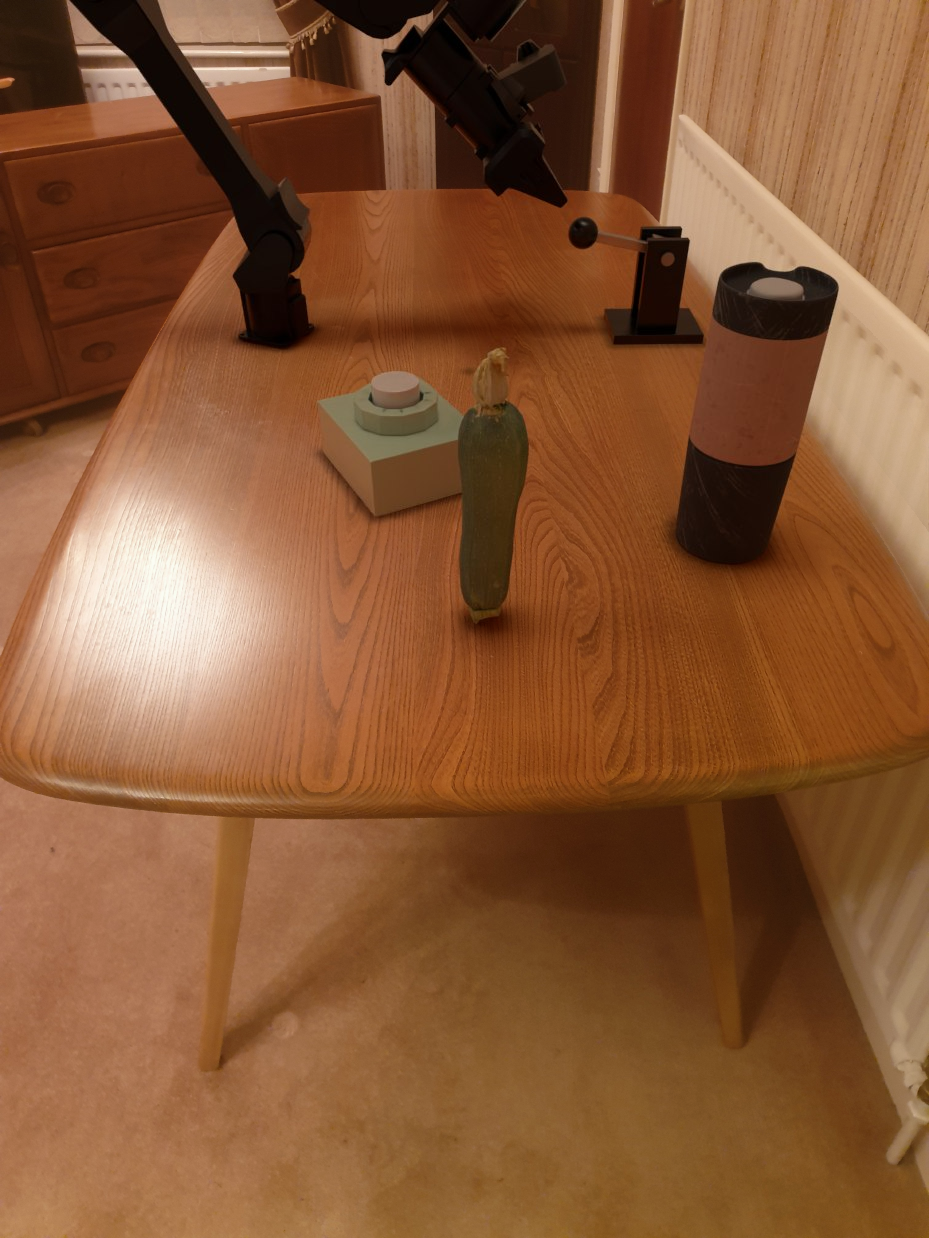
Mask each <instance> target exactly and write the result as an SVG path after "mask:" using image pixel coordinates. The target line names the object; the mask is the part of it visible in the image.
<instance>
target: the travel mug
mask: <svg viewBox="0 0 929 1238" xmlns="http://www.w3.org/2000/svg"><path fill="white" fill-rule="evenodd" d="M839 287H840V285H839V283H838V281H837V280H836V279H835V278H834V277H833V276H832V275H830V274H828V273H826V272H825V271H822V270H819V269H817V268H815V267H814V268H813V267H810V266H806V265H799V266H797V267H795V268H794V269H792V270H787V271H786V270H785V271H784V270H783V271H780V270H773V269H770V268H767V267H766V266H765V265H764V264H763V263H762V262H760V261H748V262H742V263H738V264H734V265H730V266H729V267H726V268H725V269H723V271H721V273H720V274H719V277H718V280H717V285H716V291H715V295H714V301H713V306H712V310H711V311H712V312H711V317H710V322H709V327H708V333H707V337H706V342H705V347H704V352H703V358H702V364H701V369H700V373H699V380H698V384H697V388H696V389H697V390H696V395H695V400H694V406H693V411H692V417H691V421H690V425H689V433H688V439H687V447H686V453H685V459H684V465H683V473H682V480H681V487H680V495H679V500H678V501H679V503H678V507H677V508H678V509H677V516H676V524H675V536H676V537H675V538H676V539H677V541H678V543H679V544H680V545H681V547H682V548H683V549H684V550H686V551H687V552H688V553H691V554H692V555H694V556H696V557H698V558H701V559H702V560H706V561H709V562H714V563H719V564H742V563H747V562H750V561H753V560H756V559H757V558H759V557H760V556H762V555H763V553H764V552H765V551H766V550H767V547H768V545H769V542H770V539H771V536H772V532H773V530H774V526H775V524H776V519H777V517H778V513H779V511H780V507H781V504H782V501H783V497H784V494H785V491H786V487H787V485H788V482H789V478H790V475H791V472H792V468H793V466H794V463H795V458H796V456H797V453H798V452H797V451H798V449H799V445H800V442H801V438H802V434H803V430H804V427H805V422H806V418H807V415H808V411H809V406H810V403H811V399H812V395H813V391H814V387H815V384H816V381H817V377H818V373H819V370H820V369H819V368H820V364H821V361H822V356H823V353H824V349H825V345H826V342H827V339H828V334H829V330H830V326H831V323H832V319H833V315H834V311H835V307H836V303H837V299H838V296H839V289H840V288H839Z"/></svg>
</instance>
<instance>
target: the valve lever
mask: <svg viewBox="0 0 929 1238" xmlns="http://www.w3.org/2000/svg"><path fill="white" fill-rule="evenodd" d="M567 238H568V239H569V240H568V241H569V243H570V244H571V245H572V246H573V248H575V249H578V250H587V249H589V248H591V247H592V246H594V245H595V243H597V244H602V245H606V246H611V247H615V248H619V249H623V250H629V251H633V252H637V253H638V252H643V253H645V250H646V243H647V241H645V240H641V239H639V238H636V237H632V236H626V235H622V234H617V233H613V232H609V231H604V230H599V227H598V225H597V223H596V222H595V221H594V220H593V218H591V217H588V216H580V217H578V218H576V219H574V220H573V221H572V223H571V224H570V226H569V227H568V232H567ZM651 238H670V237H666V236H661V235H657V234H652V236H651Z"/></svg>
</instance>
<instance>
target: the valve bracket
mask: <svg viewBox="0 0 929 1238" xmlns="http://www.w3.org/2000/svg"><path fill="white" fill-rule="evenodd" d="M652 234H657V235H661V236H666V237H670V238H651V236H652ZM682 234H683V227H682V225H667V226H666V225H665V226H663V225H662V226H661V225H659V226H658V225H657V226H656V225H654V226H651V225H650V226H649V225H648V226H647V225H646V226H640V231H639V238H638V239H641V240H645V241H647V243H646V250H645V253H643V252H638V251H637V255H636V262H635V263H636V264H635V269H634V270H635V272H634V279H633V289H632V297H631V304H630V308H604V310H603V311H604V312H603V320H604V323H605V325H606V328H607V330H608V333H609V336H610V339H611V342H612V345H615V346H617V345H618V346H619V345H625V346H626V345H703V343H704V336H705V334H704V332H703V331H702V329H701V327H700V325H699V323H698V321H697V320H696V318H695V316H694V314H693V312H692V311H691V309H690V308H689V307H681V302H682V301H681V300H682V295H683V288H684V282H685V275H686V269H687V263H688V258H689V257H688V256H689V252H690V251H689V250H690V243H691V239H690V238H689V237H682Z"/></svg>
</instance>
